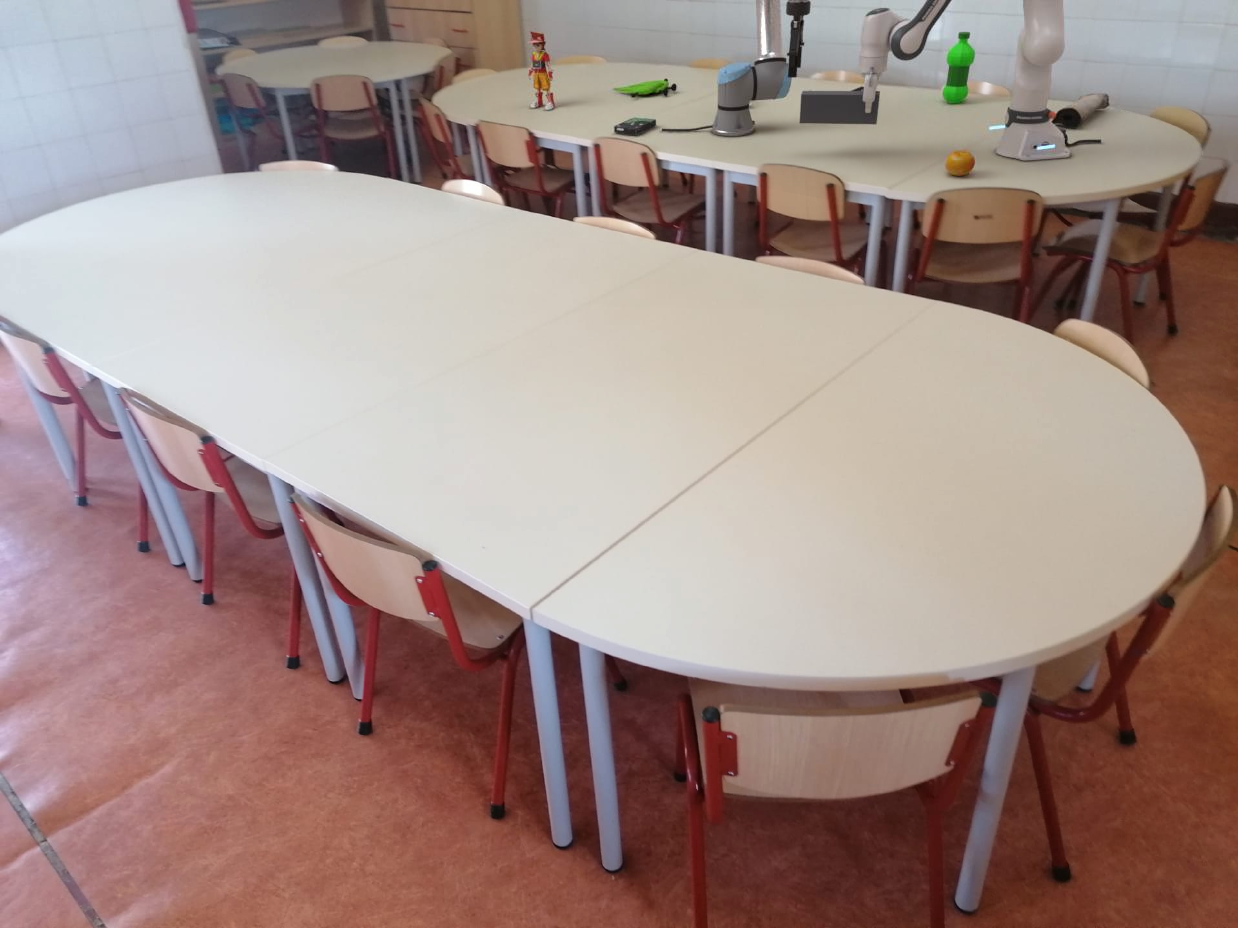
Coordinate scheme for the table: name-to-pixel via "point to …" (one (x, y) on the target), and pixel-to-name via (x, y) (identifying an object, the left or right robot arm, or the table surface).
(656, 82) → the toy
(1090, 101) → the rolled mat
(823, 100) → the bar
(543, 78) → the toy
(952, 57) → the plastic bottle
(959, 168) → the fruit
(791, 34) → the left robot arm
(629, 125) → the disk drive
